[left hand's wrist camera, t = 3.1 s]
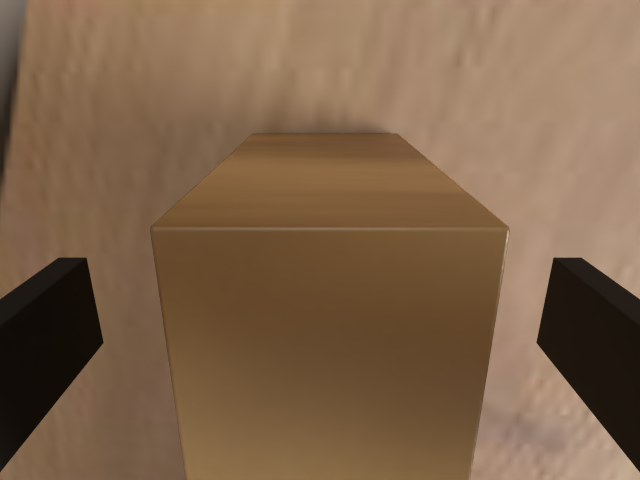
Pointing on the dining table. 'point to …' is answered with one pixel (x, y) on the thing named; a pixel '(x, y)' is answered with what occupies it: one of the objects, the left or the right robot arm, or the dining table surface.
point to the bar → (328, 312)
